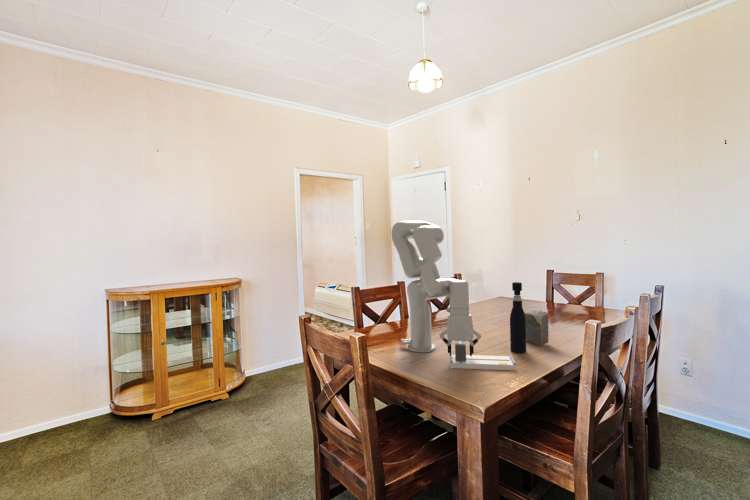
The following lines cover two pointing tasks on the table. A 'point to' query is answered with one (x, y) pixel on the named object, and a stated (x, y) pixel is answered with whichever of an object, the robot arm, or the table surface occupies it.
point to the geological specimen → (537, 326)
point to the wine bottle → (517, 322)
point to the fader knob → (460, 350)
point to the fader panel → (484, 362)
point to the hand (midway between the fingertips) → (460, 354)
